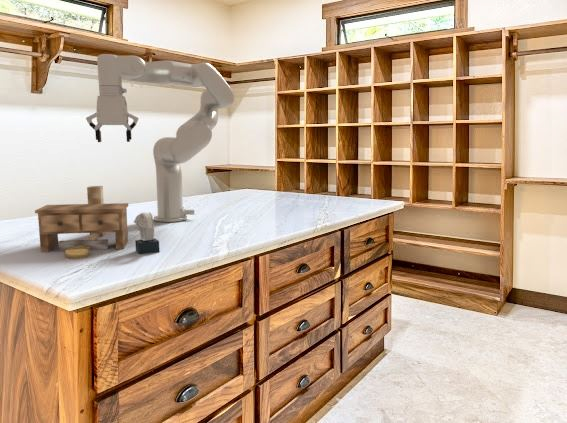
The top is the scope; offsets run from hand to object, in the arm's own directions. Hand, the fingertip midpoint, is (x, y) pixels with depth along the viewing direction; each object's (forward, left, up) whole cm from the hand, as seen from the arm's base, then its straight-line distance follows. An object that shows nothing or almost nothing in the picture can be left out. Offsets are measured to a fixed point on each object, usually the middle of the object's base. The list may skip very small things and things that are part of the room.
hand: (114, 142), depth 167 cm
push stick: (+4, +26, -30) cm, 40 cm away
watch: (-14, +42, -30) cm, 53 cm away
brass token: (+4, +44, -30) cm, 54 cm away
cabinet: (+4, +33, -30) cm, 45 cm away
